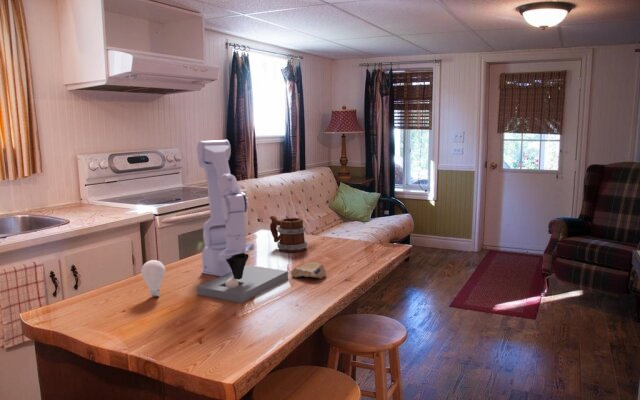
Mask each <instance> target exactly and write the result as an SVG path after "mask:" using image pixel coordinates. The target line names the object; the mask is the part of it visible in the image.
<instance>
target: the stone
mask: <svg viewBox="0 0 640 400" xmlns="http://www.w3.org/2000/svg"><path fill="white" fill-rule="evenodd" d="M326 270H327V269H326V267H324V265H323V264H321V263H319V262H316V261H312V262H311V261H310V262H306V263H304V264H302V265H301V266H298V267H294V268H293V269H292V270H291V272H290V275H291V276H292V277H293V278H295V279H297V278H300V277H304V278H305V277H306V278H313V279H314V278H315V279H320V280H321V279H323V278H324V277H325V276H326V275H327V273H326V272H327V271H326Z"/></svg>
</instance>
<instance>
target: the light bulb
mask: <svg viewBox="0 0 640 400" xmlns="http://www.w3.org/2000/svg"><path fill="white" fill-rule="evenodd" d="M140 271H141V273H140V274H141V277H142V279H143V281H144V282H145V283H146V284H147V288H148V290H149V296H151V297H153V298H157V297H159V296H160V295H161V290H160V289H161V286H162V285H161V284H162V281H163V279H164V277H165V275H166V268H165V265H164V264H163V262H161V261H159V260H156V259H151V260H148V261H146V262H144V263H143V265H142V267H141V269H140Z"/></svg>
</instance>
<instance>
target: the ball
mask: <svg viewBox="0 0 640 400" xmlns="http://www.w3.org/2000/svg"><path fill="white" fill-rule="evenodd" d="M225 286H226V287H228V288H235V287H237V286H239V282H238V281H237V280H236V279H235V278H230V279H228V280H227V281H226V284H225Z"/></svg>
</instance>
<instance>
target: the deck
mask: <svg viewBox="0 0 640 400" xmlns="http://www.w3.org/2000/svg"><path fill="white" fill-rule="evenodd" d="M230 278H234V276H233V273H232V272H230V273H228V274H225V275H223V276H217V277H216V278H214V279H212V280H209V281H206V282H205V283H202V284H200V285H197V290H196V291H197V295H199V296H203V297H208V298H211V299H212V298H213V299H219V300H223V301H229V302H232V303H238V304H242V303H245V302H246V301H249V300H250V299H252V298H254V297H256V296H258V295H259V294H261V293H263V292H265V291H267V290H269V289H271V288H273V287H276V285H279V284H281V283H282V282H284V281H287V280H288V279H289V272H288V270H282V269H278V268H277V269H276V268H269V267H264V266H257V265H256V266H255V265H251V264H245V267H244V271H243V276H242V278H241V279H236V280H237V281H238V282H239V286H237V287H235V288H228V287H226V286H225V284H226V281H227V280H228V279H230Z"/></svg>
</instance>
